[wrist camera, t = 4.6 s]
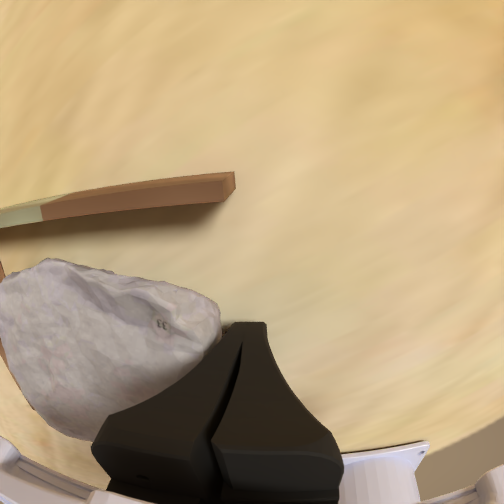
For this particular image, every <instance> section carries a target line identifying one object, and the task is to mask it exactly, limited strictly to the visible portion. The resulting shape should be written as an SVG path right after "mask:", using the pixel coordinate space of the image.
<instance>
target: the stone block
mask: <svg viewBox="0 0 504 504" xmlns="http://www.w3.org/2000/svg"><path fill="white" fill-rule="evenodd" d="M0 338H1V342H2V345H3V348H4V350H5V353H6V358H7V362H8V366H9V370H10V371H11V372H12V374H13V375H14V376H15V378H16V381H17V382H18V384H19V386H20V388H21V391H22V393H23V395H24V397H25V398H26V399H27V401H28V402H29V403H30V404H31V405H32V406H33V407H34V409H35V410H36V411H37V413H38V414H39V415H40V416H41V417H42V418H43V419H44V420H45V421H46V422H47V424H48V425H49V426H51V427H53V428H54V429H56V430H58V431H59V432H61V433H63V434H64V435H66V436H69V437H73V438H77V439H80V440H85V441H92V442H94V440H95V438H96V436H97V434H98V432H99V430H100V428H101V426H102V425H103V423H104V421H105V420H106V418H107V417H108V415H111V414H114V413H116V412H119V411H122V410H124V409H127V408H130V407H132V406H135V405H137V404H139V403H141V402H143V401H145V400H147V399H149V398H151V397H153V396H155V395H157V394H158V393H160V392H162V391H163V390H165V389H166V388H168V387H170V386H171V385H173V384H174V383H176V382H177V381H179V380H180V379H181V378H182V377H184V376H185V375H186V374H187V373H189V372H190V371H191V370H192V369H193V368H194V367H195V366H196V365H197V364H198V363H199V362H201V361H202V360H203V359H204V358H205V357H206V356H207V355H208V353H209V352H210V351H211V350H212V349H213V348H214V347H215V346H216V344H217V343H218V342H219V341H220V340H221V339H222V328H221V322H220V310H219V307H218V305H217V303H215V302H214V301H212V300H210V299H209V298H207V297H205V296H203V295H201V294H199V293H198V292H195V291H193V290H190V289H187V288H182V287H179V286H176V285H173V284H170V283H167V282H165V281H160V282H157V281H152V280H147V279H143V278H139V277H128V276H122V275H117V274H115V273H114V272H113V271H106V270H104V269H101V270H98V269H94V268H91V267H88V266H84V265H77V264H74V263H70V262H67V261H64V260H61V259H50V258H46V259H44V260H43V261H41V262H40V263H39V264H38V265H36V266H34V267H32V268H28V269H25V270H22V271H20V272H12V273H11V274H10V275H8V276H6V277H5V278H3V280H2V282H1V283H0Z"/></svg>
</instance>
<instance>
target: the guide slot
mask: <svg viewBox="0 0 504 504" xmlns="http://www.w3.org/2000/svg"><path fill="white" fill-rule="evenodd" d="M235 189H236V187H235V176H234V172H224V173H212V174H202V175H192V176H183V177H174V178H166V179H158V180H150V181H143V182H136V183H129V184H122V185H116V186H109V187H103V188H97V189H91V190H86V191H80V192H75V193H69V194H64V195H59V196H54V197H49V198H44V199H40V200H35V201H30V202H26V203H22V204H17V205H13V206H9V207H5V208H1V209H0V228H3V227H9V226H15V225H21V224H28V223H34V222H40V221H47V220H54V219H61V218H68V217H75V216H83V215H91V214H99V213H107V212H115V211H124V210H133V209H143V208H152V207H163V206H173V205H185V204H197V203H209V202H223V201H225V200H226V199H227V198H228V197H229V195H230V194H231V193H232V192H233V191H234V190H235ZM3 278H5V275H4V272H3V269H2V265H1V262H0V283H1V282H2V280H3ZM0 355H1V357H2V359H3V360H4V362H5V364H6V366H7V368H8V370H9V366H8V362H7V358H6V353H5V350H4V348H3V345H2V342H1V338H0ZM9 371H10V370H9ZM10 373H11V375H12V377H13V378H14V380H15V382H16V384H17V385H18V387H19V389H20V390H21V388H20V386H19V384H18V382H17V381H16V378H15V376H14V375H13V374H12V372H11V371H10ZM21 392H22V391H21ZM26 400H27V399H26ZM28 403H29V402H28ZM29 404H30V403H29ZM30 406H31V407H32V409H33V410H35V409H34V407H33V406H32V405H31V404H30ZM35 411H36V410H35Z"/></svg>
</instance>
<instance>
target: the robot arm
mask: <svg viewBox="0 0 504 504" xmlns="http://www.w3.org/2000/svg"><path fill="white" fill-rule="evenodd" d="M429 447H430V444H429V442H428V441H422V442H418V443H413V444H408V445H403V446H397V447H392V448H386V449H380V450H373V451H365V452H357V453H348V454H341V453H340V450H339V448H338V445H337V443H336V441H335V439H334V437H333V435H332V433H331V432H330V431H329V430H328V429H327V428H326V427H324V426H323V425H322V424H321V423H320V422H319V421H318V420H317V419H316V418H315V417H314V416H313V415H312V414H311V413H310V412H309V411H308V410H307V409H306V408H305V406H304V405H303V404H302V403H301V401H300V400H299V399H298V398H297V397H296V395H295V394H294V393H293V391H292V390H291V388H290V387H289V385H288V384H287V382H286V380H285V379H284V377H283V375H282V374H281V372H280V370H279V368H278V366H277V364H276V361H275V359H274V357H273V354H272V351H271V349H270V346H269V343H268V339H267V326H266V324H265V323H264V322H235V323H234V324H233V325H232V326H231V327H230V328H229V330H228V331H227V332H226V334H225V335H224V336H223V337H222V339H221V340H220V341H219V342H218V343H217V344H216V346H215V347H214V348H213V349H212V350H211V351H210V352H209V353H208V355H207V356H206V357H205V358H204V359H203V360H202V361H201V362H199V363H198V364H197V365H196V366H195V367H194V368H193V369H192V370H191V371H190V372H189V373H187V374H186V375H185V376H184V377H182V378H181V379H180V380H179V381H177V382H176V383H174V384H173V385H171V386H170V387H168V388H166V389H165V390H163V391H162V392H160V393H158V394H157V395H155V396H153V397H151V398H149V399H147V400H145V401H143V402H141V403H139V404H137V405H135V406H132V407H130V408H127V409H124V410H122V411H119V412H116V413H114V414H111V415H108V417H107V418H106V420H105V421H104V423H103V425H102V426H101V428H100V430H99V432H98V434H97V436H96V438H95V440H94V442H93V444H92V446H91V451H92V454H93V456H94V457H95V459H96V460H97V462H98V463H99V464H100V465H101V467H102V468H103V469H104V470H105V471H106V473H107V474H108V475H109V476H110V477H111V480H110V482H109V485H108V487H107V489H106V491H105V490H102V489H99V488H96V487H93V486H91V485H88V484H85V483H83V482H80V481H77V480H75V479H72V478H70V477H68V476H65V475H63V474H60V473H58V472H56V471H54V470H51V469H49V468H47V467H45V466H43V465H41V464H39V463H37V462H35V461H33V460H31V459H29V458H27V457H25V456H23V455H21V453H20V452H19V451H18V449H17V448H16V447H15V446H14V445H13V444H12V443H11V442H10V441H8V440H7V439H5V438H3V437H1V436H0V500H1V501H2V502H3V503H4V504H504V464H502V465H500V466H498V467H495V468H493V469H491V470H489V471H488V472H486V473H485V474H483V475H482V476H481V477H480V478H479V479H478V481H477V482H476V484H474V485H471V486H469V487H466V488H463V489H460V490H457V491H454V492H452V493H448V494H445V495H442V496H438V497H435V498H432V499H428V500H424V501H420V496H419V492H418V487H417V483H416V479H415V475H414V472H415V470H416V468H417V467H418V465H419V464H420V462H421V461H422V459H423V457H424V456H425V454H426V452H427V451H428V449H429Z"/></svg>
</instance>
